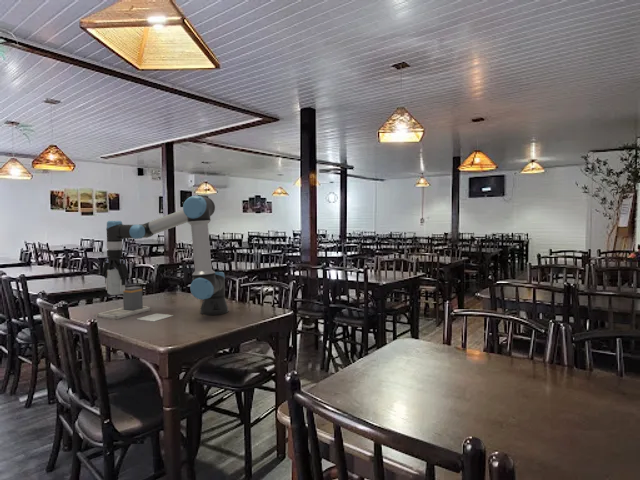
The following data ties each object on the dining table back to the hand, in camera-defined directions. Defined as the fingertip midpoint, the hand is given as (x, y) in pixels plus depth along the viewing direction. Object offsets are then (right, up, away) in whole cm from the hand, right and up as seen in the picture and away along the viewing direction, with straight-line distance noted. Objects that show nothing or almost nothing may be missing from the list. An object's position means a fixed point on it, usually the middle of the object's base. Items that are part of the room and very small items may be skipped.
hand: (115, 290), depth 228 cm
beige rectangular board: (+2, -14, +6) cm, 15 cm away
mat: (+23, -14, -4) cm, 27 cm away
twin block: (+5, -13, +11) cm, 18 cm away
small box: (0, -2, 0) cm, 2 cm away
